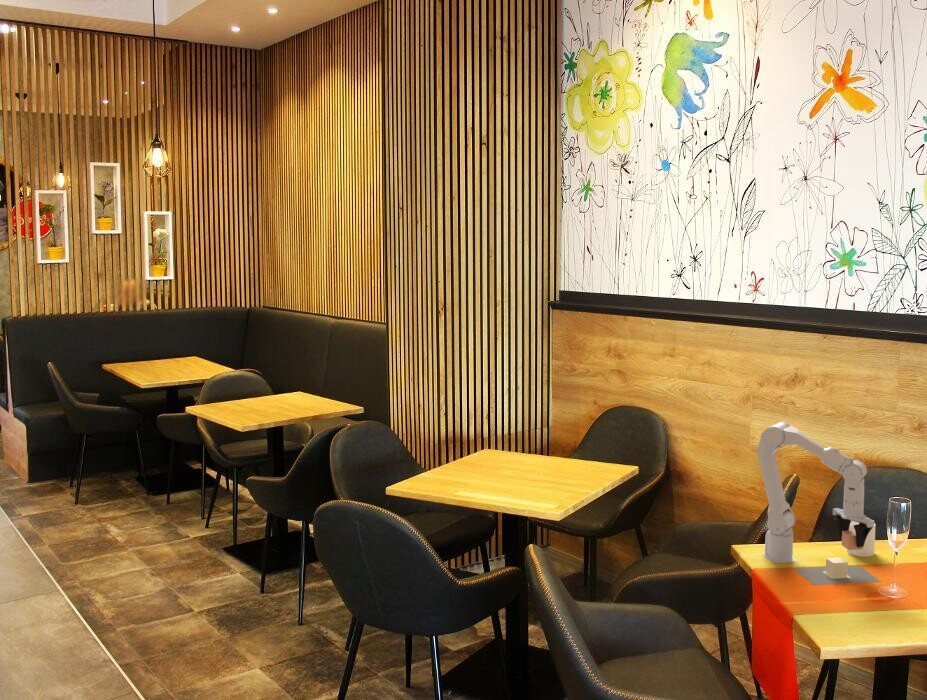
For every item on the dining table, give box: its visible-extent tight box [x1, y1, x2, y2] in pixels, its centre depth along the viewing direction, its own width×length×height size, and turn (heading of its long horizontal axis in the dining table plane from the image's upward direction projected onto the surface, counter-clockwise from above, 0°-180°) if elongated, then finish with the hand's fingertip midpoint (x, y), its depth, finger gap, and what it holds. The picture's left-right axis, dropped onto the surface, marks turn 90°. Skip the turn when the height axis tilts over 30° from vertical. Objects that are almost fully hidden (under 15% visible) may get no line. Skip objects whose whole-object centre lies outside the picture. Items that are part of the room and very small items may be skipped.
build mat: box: [792, 564, 882, 586], centre depth 283 cm, size 14×21×1 cm, turn 95°
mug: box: [846, 520, 876, 558], centre depth 300 cm, size 12×8×10 cm
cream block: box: [825, 556, 849, 578], centre depth 283 cm, size 4×4×4 cm
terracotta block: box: [841, 531, 863, 550], centre depth 284 cm, size 4×4×4 cm
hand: (852, 543), depth 284 cm, fingers closed on terracotta block, 6 cm apart
